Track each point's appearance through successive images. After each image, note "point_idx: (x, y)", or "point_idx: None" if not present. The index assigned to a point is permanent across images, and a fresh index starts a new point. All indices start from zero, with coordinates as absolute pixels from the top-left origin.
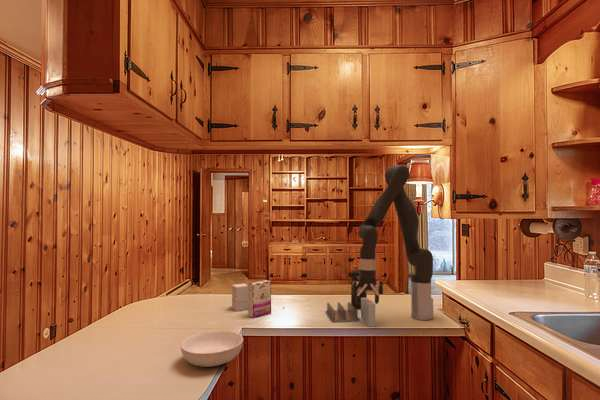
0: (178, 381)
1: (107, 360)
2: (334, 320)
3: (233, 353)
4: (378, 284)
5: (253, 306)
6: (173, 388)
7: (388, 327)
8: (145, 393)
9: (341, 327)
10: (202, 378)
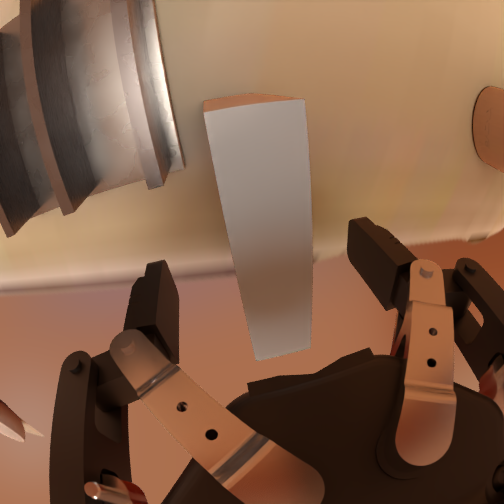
0: None
1: None
2: (40, 213)
3: (24, 432)
4: (486, 392)
5: None
6: None
7: (332, 251)
8: None
9: (93, 276)
10: (23, 423)
